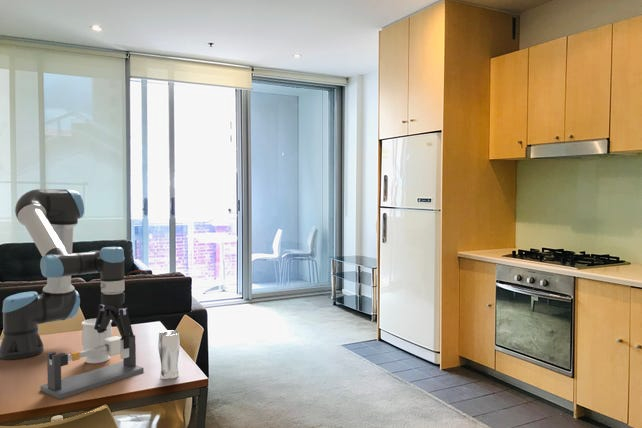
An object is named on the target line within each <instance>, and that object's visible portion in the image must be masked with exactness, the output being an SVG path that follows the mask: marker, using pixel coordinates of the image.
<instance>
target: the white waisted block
mask: <svg viewBox="0 0 642 428" xmlns="http://www.w3.org/2000/svg"><path fill="white" fill-rule="evenodd" d="M180 344H181V342H180V332H179V331H178V330H173V329H171V330H169V329H168V330H162V331H160V332H159V333H158V344H157V345H158V347H157V348H158V354H159V359H160V360H159V361H160V367H161V368H160V374H159V378H160V379H161V380H173V379H177V378H178V377H179V375H180V374H179V368H178V364H179V363H178V361H179V356H180V347H181V345H180Z"/></svg>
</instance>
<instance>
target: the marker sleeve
mask: <svg viewBox="0 0 642 428" xmlns="http://www.w3.org/2000/svg"><path fill="white" fill-rule="evenodd" d="M121 338H122V337H121V336H118V335H114V336H113V335H112V337H109V338H105V339H103V345H107V344H108V345H109V350H108V351H104V352H103V354H106V355H109V356H110V357H113V356H117V355H121V353H120V339H121Z"/></svg>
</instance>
